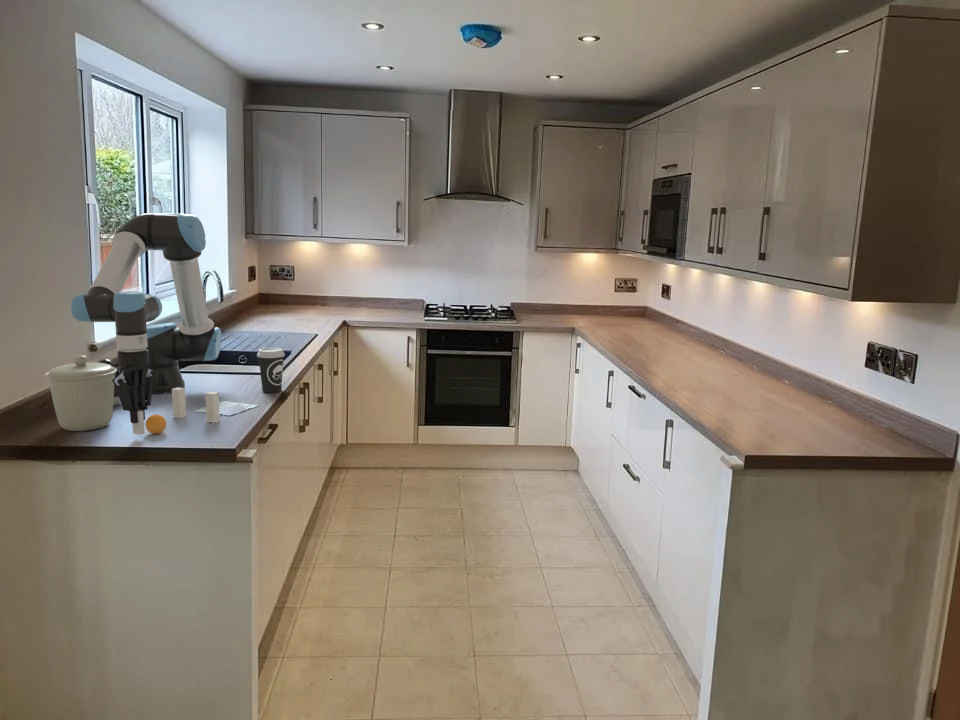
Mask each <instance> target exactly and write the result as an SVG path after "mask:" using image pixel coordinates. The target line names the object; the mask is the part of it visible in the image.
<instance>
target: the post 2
mask: <svg viewBox="0 0 960 720" xmlns="http://www.w3.org/2000/svg"><path fill="white" fill-rule="evenodd" d="M219 397H220V396H219V392H218V391H209V392H205V397H204V398H205V407H206V413H205V415H206V416H205V417H206V423H207V422H212V423H211V424H216V423H218V422H217V421H219V422H221V421H220V419H221V417H220V416H221V415H219V402H220V401H219V400H220V399H219ZM215 422H216V423H215Z"/></svg>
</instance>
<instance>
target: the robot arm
mask: <svg viewBox="0 0 960 720" xmlns="http://www.w3.org/2000/svg"><path fill="white" fill-rule="evenodd" d="M111 241H112V247H111V249H110V250H109V253H108V254H107V256H106V258H105V260H104V261H103V264H102V266H101V267H100V269H99V271H98V273H97V275H96V276H95V278H94V281H93V283H92V284H91V286H90V288H89V290H88V291H87V293H86V294H85V293H82V294H77V295H74V296H73V298H72V299H71V303H70V311H71V314H72V317H73V318H74V320H76V321H78V322H85V323H86V322H87V323H114V325H115V337H116V338H115V339H116V348H117V350H118V351H117V363H119V366H120V368H119V369H120V370H119V372H120V375H119V376H118V377H117V378H113V380H112V381H113V383H114V384H115V386H116V388H117V391H118V395H119V398H120V401H121V402H120V405H121V408H122V410H123V411H124V412H125V411H126V412H129V418H130V420H129V421H130V424H132V434H135V435H139V436H142V435H144V434H145V433H146V432H145V429H146V428H145V421H146V411H147V410H148V408H149V407H150V406H151V404H152V396H153V395H154V394H155V395H156V394H157V395H158V394H160V395H161V394H172V389H174V388H177V387H179V388H185V389H186V385H185V380H184V379H183V376H182V373H181V371H180V367H179V361H202V362H205V361H214V360H217V358H219V357H218V356H219V354H220V351H221V346H222V330H221V328H219V327H217V326H216V327H215V323H214V321H213V320H212V319H211V318H209V315H208V309H207V305H206V304H207V303H206V299H205V291H204V288H203V287H204V286H203V281H202V276H201V275H202V274H201V270H200V263H199V258H200V257H201V255H202V252H203V251H204V250H205V249H206V245H207V244H206V241H207V240H206V232H205V228H204V226H203V222H202V220H200V218H199V217H198V216H196V215H195V214H186V213H182V212H181V213H154V212H153V213H152V212H148V213H147V212H146V213H142V214H139V215H135V216H134V217H131V218H130V219H128V220H127V221H126V222H125V223H124V224H122V225H121V226H120V227H119V228H118V229H117V230H116V232H115V233H114V235H113V238H112V240H111ZM147 251H162V253H163V254H162V255H163V258H164V259H165V260H167V262H169V264H170V269H171V274H172V278H173V285H174V288H175V289H174V290H175V293H176V300H177V304H178V309H179V313H180V317H181V318H180V319H181V322H180V323H179V324H178V327H177V324H176V323H175V322H165V323H158V324H152V325H147V323H149V322H152V321H154V320H156V319H157V318H159V316H160V315H161V314H162V312H163V304H162V302H161V301H162V300H160V299H159V298H158V296H156V295H154V294H150V293H145V294H144V293H143V292H142V291H135V290H131V291H129V290H126V291H122V290H123V288H124V287H125V284H126V282H127V280H128V278H129V276H130V274H131V272H132V271H133V268H134V266H135V264H136V262H137V260H138V258H140V257H142V256H143V255H144V254H145V252H147Z"/></svg>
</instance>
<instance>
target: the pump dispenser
mask: <svg viewBox="0 0 960 720" xmlns="http://www.w3.org/2000/svg"><path fill="white" fill-rule="evenodd" d="M96 363H105V364H109V365H111V366H112V367H115V368H116V369H117V372H116V373H115V378H117V377H118V376H119V375H120V370H119V368H118V367H119V366H120V365H119V363H118V362H114V361H112V360H111V359H109V358H102V359H100V360H98V361H97V362H96ZM119 404H121V401H120V398H119V395H118V391H117V388H116V386H115V384H114V402H113V407H115V406H117V405H119Z"/></svg>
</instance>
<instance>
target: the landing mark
mask: <svg viewBox="0 0 960 720" xmlns="http://www.w3.org/2000/svg"><path fill="white" fill-rule="evenodd" d="M238 403H239V404H241V405H240V406H242V405H244V406H243V407H245V406H247V407H248V408H250V410H252V409H255V408H258V407H260V405H259V404H250V403H242V402H235V401H228V400H226V401H225V400H223V401H219V407H224V408H225V406H226V407H229V406H234V405H238ZM249 405H250V406H249ZM251 406H252V407H251ZM257 406H258V407H257ZM247 407H245V408H246V409H248V408H247ZM254 407H255V408H254ZM251 408H252V409H251ZM219 409H221V408H219ZM227 410H228V409H227ZM194 412H196V413H202V412H205V413H204V414H206V406H205V407H201V408H198V409H196V410H194ZM219 412H221V411H220V410H219ZM224 414H225V413H224ZM224 414H223V415H222V416H224Z"/></svg>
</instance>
